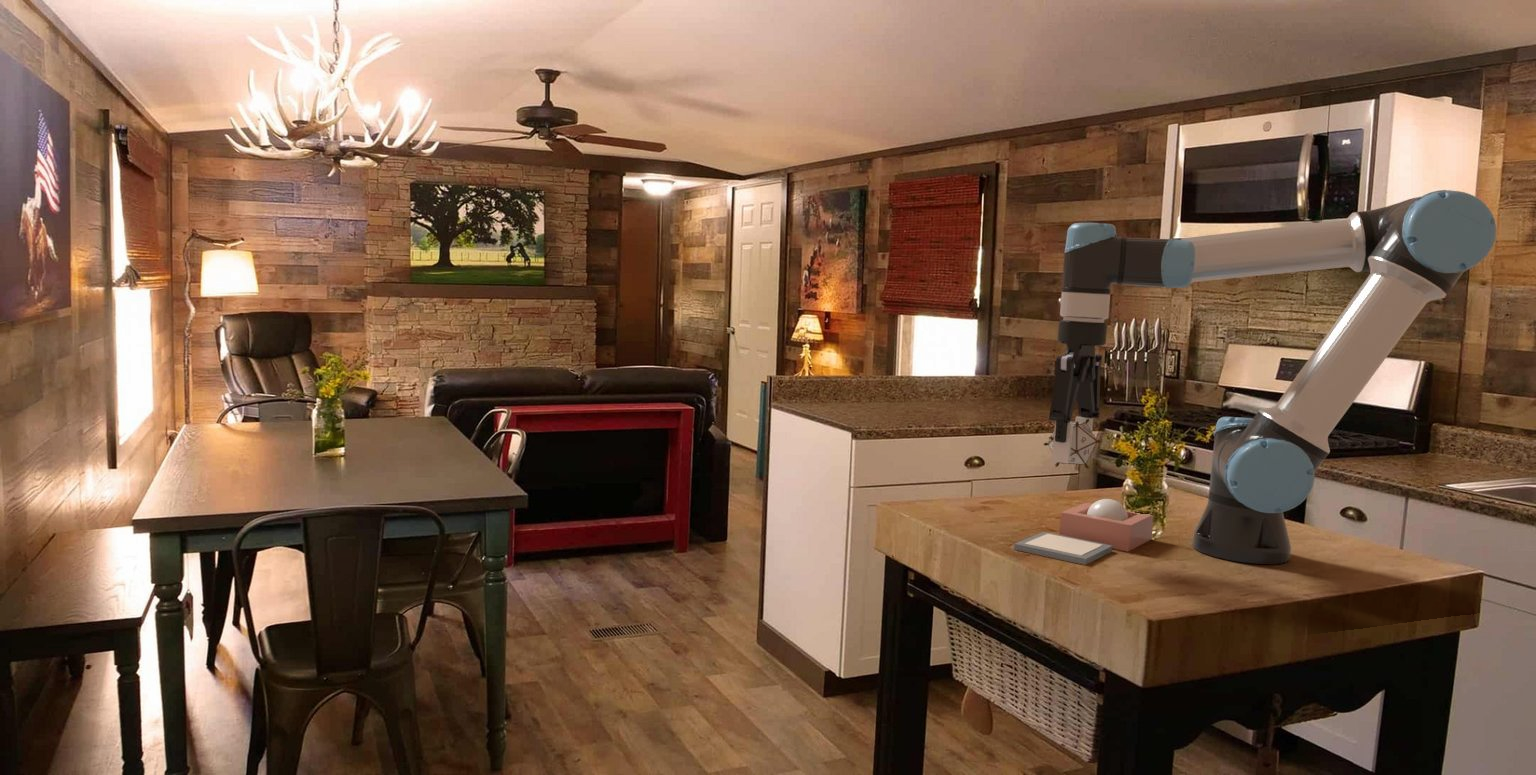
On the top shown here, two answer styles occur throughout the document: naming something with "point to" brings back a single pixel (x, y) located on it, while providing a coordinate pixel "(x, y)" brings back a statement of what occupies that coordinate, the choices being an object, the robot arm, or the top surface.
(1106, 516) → the white ball
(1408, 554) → the top surface
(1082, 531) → the pink open box
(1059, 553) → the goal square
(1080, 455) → the game die
